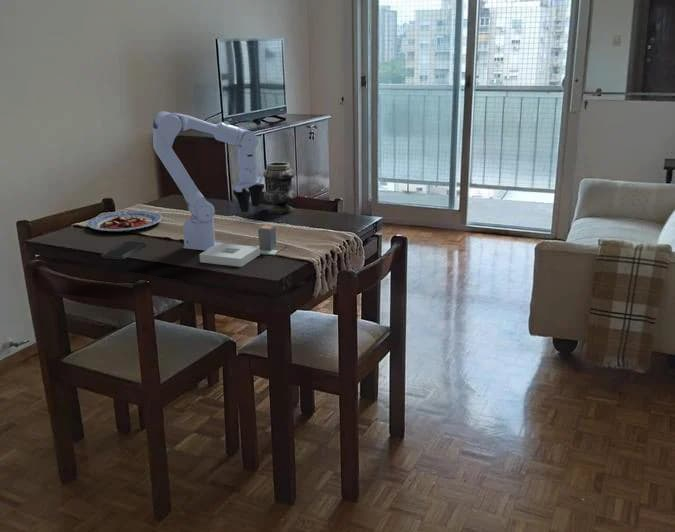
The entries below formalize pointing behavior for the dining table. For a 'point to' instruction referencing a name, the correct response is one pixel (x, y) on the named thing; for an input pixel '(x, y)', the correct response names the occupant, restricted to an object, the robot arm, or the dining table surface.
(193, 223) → the robot arm
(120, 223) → the ceramic plate
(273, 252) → the pad
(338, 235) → the dining table surface
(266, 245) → the plug
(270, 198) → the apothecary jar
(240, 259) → the white board with hole
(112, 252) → the phone
